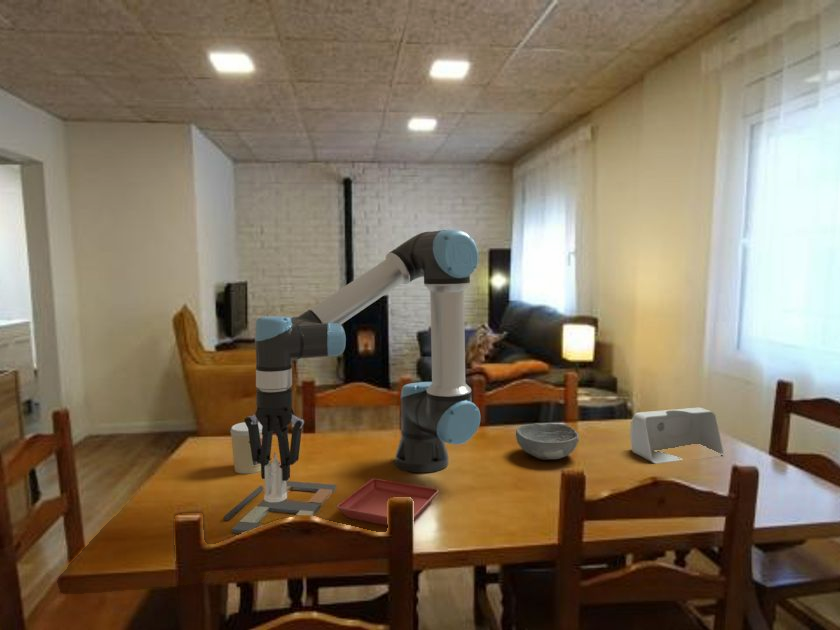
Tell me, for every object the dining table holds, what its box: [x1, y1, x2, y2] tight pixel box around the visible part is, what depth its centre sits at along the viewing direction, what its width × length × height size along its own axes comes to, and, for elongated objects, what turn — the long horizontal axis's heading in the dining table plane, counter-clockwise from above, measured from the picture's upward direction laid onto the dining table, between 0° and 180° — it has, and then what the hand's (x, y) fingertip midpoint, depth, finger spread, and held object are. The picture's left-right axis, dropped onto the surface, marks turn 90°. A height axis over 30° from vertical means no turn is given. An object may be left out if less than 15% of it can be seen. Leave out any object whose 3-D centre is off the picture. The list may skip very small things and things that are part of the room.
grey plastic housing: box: [629, 406, 724, 465], centre depth 165 cm, size 25×16×12 cm, turn 105°
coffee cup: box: [229, 421, 262, 475], centre depth 150 cm, size 9×9×12 cm
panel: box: [231, 480, 337, 534], centre depth 126 cm, size 14×26×1 cm, turn 169°
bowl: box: [515, 422, 580, 461], centre depth 160 cm, size 18×18×8 cm
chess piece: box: [263, 452, 288, 502], centre depth 119 cm, size 5×5×10 cm
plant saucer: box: [336, 478, 439, 526], centre depth 126 cm, size 18×18×3 cm
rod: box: [223, 485, 264, 521], centre depth 128 cm, size 17×1×1 cm, turn 169°
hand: (275, 493), depth 120 cm, fingers closed on chess piece, 2 cm apart
